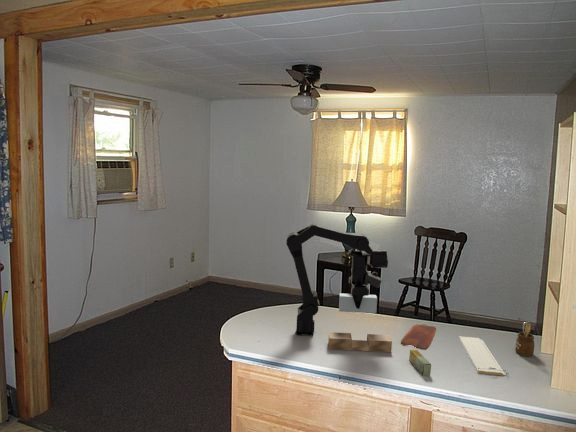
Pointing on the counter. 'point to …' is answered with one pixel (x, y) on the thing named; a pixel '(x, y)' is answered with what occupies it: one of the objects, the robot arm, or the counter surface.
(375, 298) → the pale blue block
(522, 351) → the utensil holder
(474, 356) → the baseboard
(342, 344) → the notched beam
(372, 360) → the counter surface
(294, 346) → the counter surface
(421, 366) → the medication box
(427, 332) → the wooden tablet
